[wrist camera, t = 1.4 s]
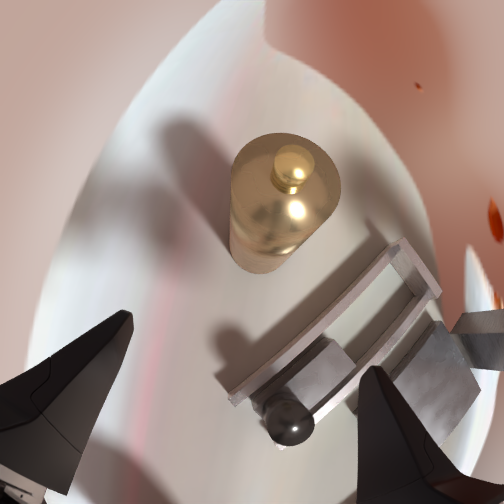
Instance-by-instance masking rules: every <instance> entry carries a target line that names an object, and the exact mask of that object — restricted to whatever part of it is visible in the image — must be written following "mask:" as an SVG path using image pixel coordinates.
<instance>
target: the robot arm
mask: <svg viewBox="0 0 504 504" xmlns="http://www.w3.org/2000/svg"><path fill="white" fill-rule="evenodd" d="M133 331H134V324H133V315H132V313H131V312H129V311H126V310H120V311H118V312H116V313H115V314H113V315H112V316H110V317H109V318H107V319H106V320H104V321H103V322H101V323H100V324H98V325H97V326H95V327H93V328H92V329H90V330H89V331H87V332H86V333H84V334H83V335H81V336H80V337H78V338H77V339H75V340H74V341H72V342H71V343H69V344H68V345H66V346H65V347H63V348H62V349H60V350H59V351H57V352H56V353H54V354H53V355H51V357H48V358H47V359H45V360H44V361H42V362H41V363H39V364H38V365H36V366H35V367H33V368H31V369H29V370H28V371H26V372H24V373H22V374H20V375H19V376H17V377H15V378H13V379H11V380H9V381H7V382H5V383H3V384H1V385H0V504H47V503H46V501H45V499H44V495H45V492H46V489H47V488H48V489H51V490H53V491H56V492H58V493H60V494H63V495H66V496H67V494H68V491H69V488H70V485H71V483H72V480H73V477H74V474H75V472H76V469H77V467H78V464H79V461H80V459H81V456H82V454H83V451H84V449H85V446H86V444H87V441H88V439H89V436H90V434H91V432H92V429H93V427H94V425H95V422H96V420H97V418H98V415H99V413H100V411H101V409H102V407H103V404H104V402H105V400H106V398H107V396H108V393H109V391H110V389H111V387H112V385H113V383H114V381H115V378H116V376H117V374H118V372H119V370H120V368H121V365H122V362H123V359H124V357H125V354H126V351H127V348H128V345H129V342H130V340H131V337H132V334H133ZM503 501H504V484H502V485H500V484H494V483H490V482H487V481H483V480H479V479H476V478H472V477H469V476H466V475H464V474H462V473H461V472H460V471H459V470H458V469H457V468H456V467H455V466H454V465H453V463H452V462H451V461H450V460H449V459H448V457H447V456H446V455H445V454H444V453H443V451H442V450H441V449H440V448H439V446H438V445H437V444H436V442H435V441H434V439H433V438H432V437H431V435H430V434H429V432H428V431H426V428H425V427H424V425H423V424H422V422H421V421H420V420H419V418H418V417H417V415H416V414H415V412H414V411H413V410H412V408H411V407H410V405H409V404H408V403H407V401H406V400H405V398H404V397H403V396H402V394H401V393H400V391H399V390H398V389H397V387H396V386H395V385H394V383H393V382H392V380H391V379H390V378H389V376H388V375H387V374H386V372H385V371H384V370H383V368H382V367H381V366H377V365H371V366H370V367H369V368H368V369H367V370H366V371H365V373H364V374H363V375H362V376H361V378H360V382H359V400H358V479H357V500H356V503H357V504H503Z"/></svg>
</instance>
